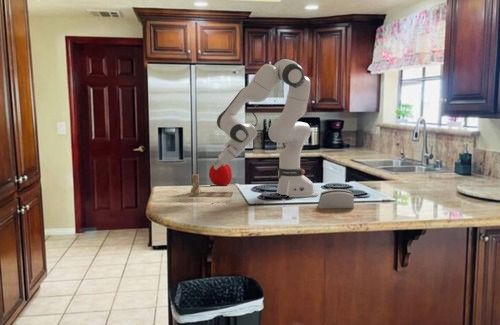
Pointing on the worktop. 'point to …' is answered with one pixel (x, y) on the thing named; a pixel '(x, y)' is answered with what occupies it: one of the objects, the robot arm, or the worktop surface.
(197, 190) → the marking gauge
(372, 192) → the worktop surface
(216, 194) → the walnut board
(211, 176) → the tomato
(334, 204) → the grey arched slab
